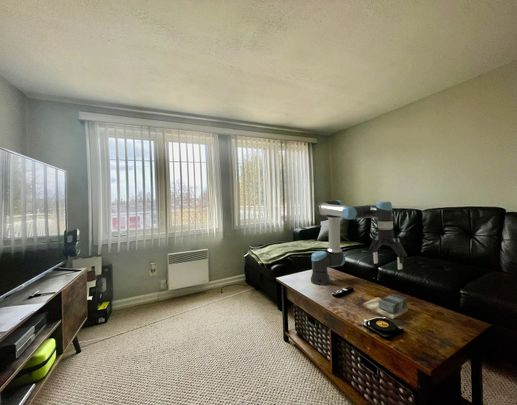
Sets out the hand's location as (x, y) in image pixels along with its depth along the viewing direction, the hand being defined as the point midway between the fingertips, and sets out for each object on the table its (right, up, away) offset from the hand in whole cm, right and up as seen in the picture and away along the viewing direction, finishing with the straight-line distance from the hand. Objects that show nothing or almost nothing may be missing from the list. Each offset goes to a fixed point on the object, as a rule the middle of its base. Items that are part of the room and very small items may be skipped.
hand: (387, 265), depth 118 cm
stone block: (+2, -24, -1) cm, 24 cm away
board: (0, -25, +2) cm, 25 cm away
